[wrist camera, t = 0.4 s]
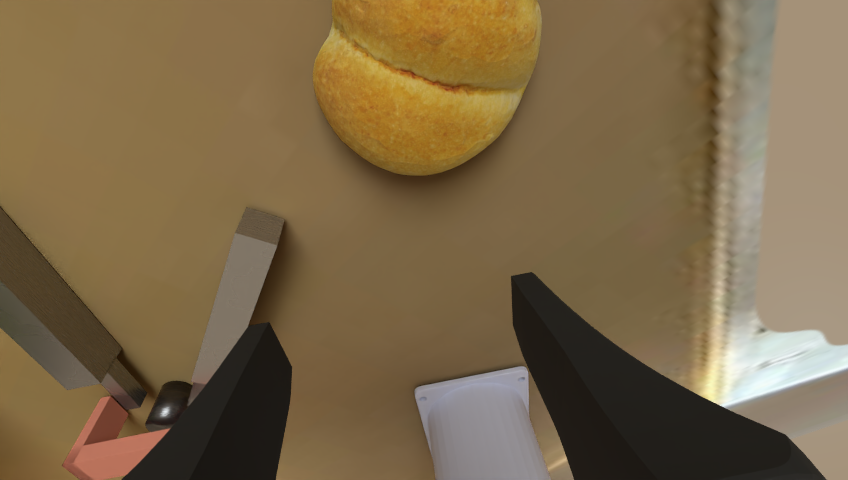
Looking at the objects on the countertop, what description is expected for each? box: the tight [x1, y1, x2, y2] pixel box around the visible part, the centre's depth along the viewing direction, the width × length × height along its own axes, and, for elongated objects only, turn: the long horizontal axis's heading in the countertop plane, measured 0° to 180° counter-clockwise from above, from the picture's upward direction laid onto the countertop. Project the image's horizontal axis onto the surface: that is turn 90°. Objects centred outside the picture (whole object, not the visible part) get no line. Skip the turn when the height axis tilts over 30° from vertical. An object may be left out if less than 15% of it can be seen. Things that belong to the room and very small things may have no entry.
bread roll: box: [313, 0, 542, 176], centre depth 16 cm, size 8×9×4 cm
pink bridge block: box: [62, 396, 171, 480], centre depth 25 cm, size 2×9×4 cm, turn 99°
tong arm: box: [187, 207, 285, 406], centre depth 23 cm, size 14×2×2 cm, turn 154°
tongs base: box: [0, 208, 192, 432], centre depth 22 cm, size 16×4×2 cm, turn 9°
